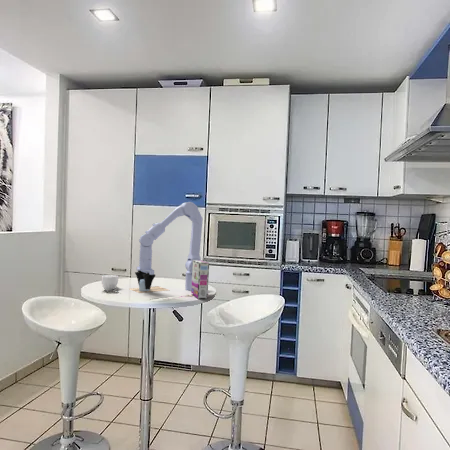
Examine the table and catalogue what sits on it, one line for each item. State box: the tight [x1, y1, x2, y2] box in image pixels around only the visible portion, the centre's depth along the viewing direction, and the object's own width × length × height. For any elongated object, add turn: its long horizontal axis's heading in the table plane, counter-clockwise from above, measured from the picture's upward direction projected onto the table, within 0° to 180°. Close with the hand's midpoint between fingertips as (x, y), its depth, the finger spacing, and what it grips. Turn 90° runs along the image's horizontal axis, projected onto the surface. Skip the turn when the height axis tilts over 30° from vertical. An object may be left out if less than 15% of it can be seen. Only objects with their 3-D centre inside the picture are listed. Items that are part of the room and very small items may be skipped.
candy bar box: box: [190, 260, 210, 300], centre depth 181 cm, size 11×5×16 cm, turn 21°
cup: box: [101, 274, 119, 292], centre depth 190 cm, size 8×10×7 cm
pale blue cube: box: [138, 279, 150, 291], centre depth 186 cm, size 5×5×5 cm
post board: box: [129, 286, 169, 294], centre depth 189 cm, size 12×16×1 cm
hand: (144, 287), depth 186 cm, fingers closed on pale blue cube, 6 cm apart
